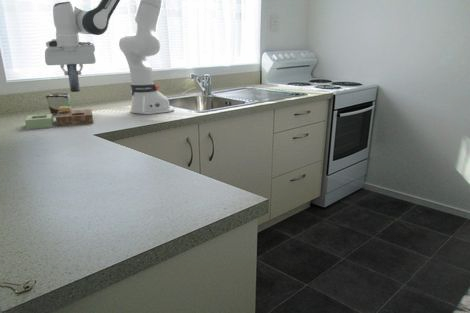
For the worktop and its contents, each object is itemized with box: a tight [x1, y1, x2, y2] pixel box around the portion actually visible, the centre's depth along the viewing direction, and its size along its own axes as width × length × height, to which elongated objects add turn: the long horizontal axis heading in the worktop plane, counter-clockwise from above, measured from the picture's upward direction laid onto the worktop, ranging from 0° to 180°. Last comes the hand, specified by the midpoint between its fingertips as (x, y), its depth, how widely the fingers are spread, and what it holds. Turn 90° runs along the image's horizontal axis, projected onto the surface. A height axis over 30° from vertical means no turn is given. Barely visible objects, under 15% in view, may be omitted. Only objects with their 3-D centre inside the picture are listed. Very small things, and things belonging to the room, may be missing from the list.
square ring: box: [24, 113, 54, 130], centre depth 165 cm, size 10×10×4 cm
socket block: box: [55, 108, 94, 127], centre depth 173 cm, size 15×15×4 cm
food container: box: [45, 92, 71, 115], centre depth 192 cm, size 12×6×10 cm, turn 84°
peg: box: [66, 64, 81, 93], centre depth 165 cm, size 4×4×12 cm
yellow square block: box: [59, 105, 72, 113], centre depth 175 cm, size 5×5×5 cm
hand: (73, 75), depth 165 cm, fingers closed on peg, 4 cm apart
